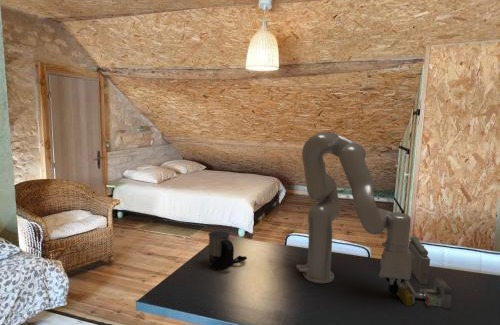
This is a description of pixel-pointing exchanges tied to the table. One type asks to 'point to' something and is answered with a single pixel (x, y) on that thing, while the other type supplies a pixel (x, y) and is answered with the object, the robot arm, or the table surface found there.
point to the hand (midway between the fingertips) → (393, 293)
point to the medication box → (404, 295)
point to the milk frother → (221, 251)
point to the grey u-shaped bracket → (443, 291)
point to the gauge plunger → (419, 295)
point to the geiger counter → (419, 260)
